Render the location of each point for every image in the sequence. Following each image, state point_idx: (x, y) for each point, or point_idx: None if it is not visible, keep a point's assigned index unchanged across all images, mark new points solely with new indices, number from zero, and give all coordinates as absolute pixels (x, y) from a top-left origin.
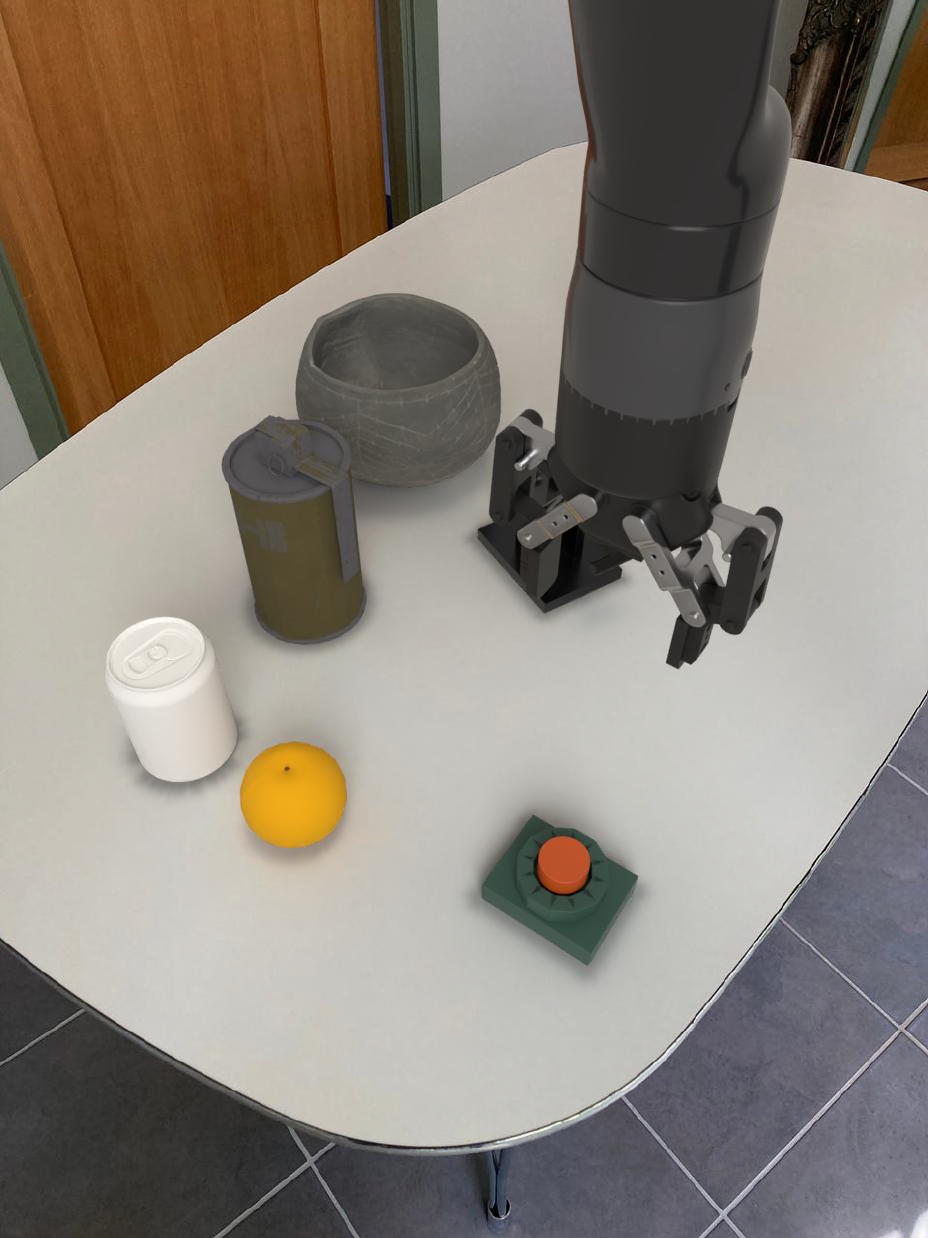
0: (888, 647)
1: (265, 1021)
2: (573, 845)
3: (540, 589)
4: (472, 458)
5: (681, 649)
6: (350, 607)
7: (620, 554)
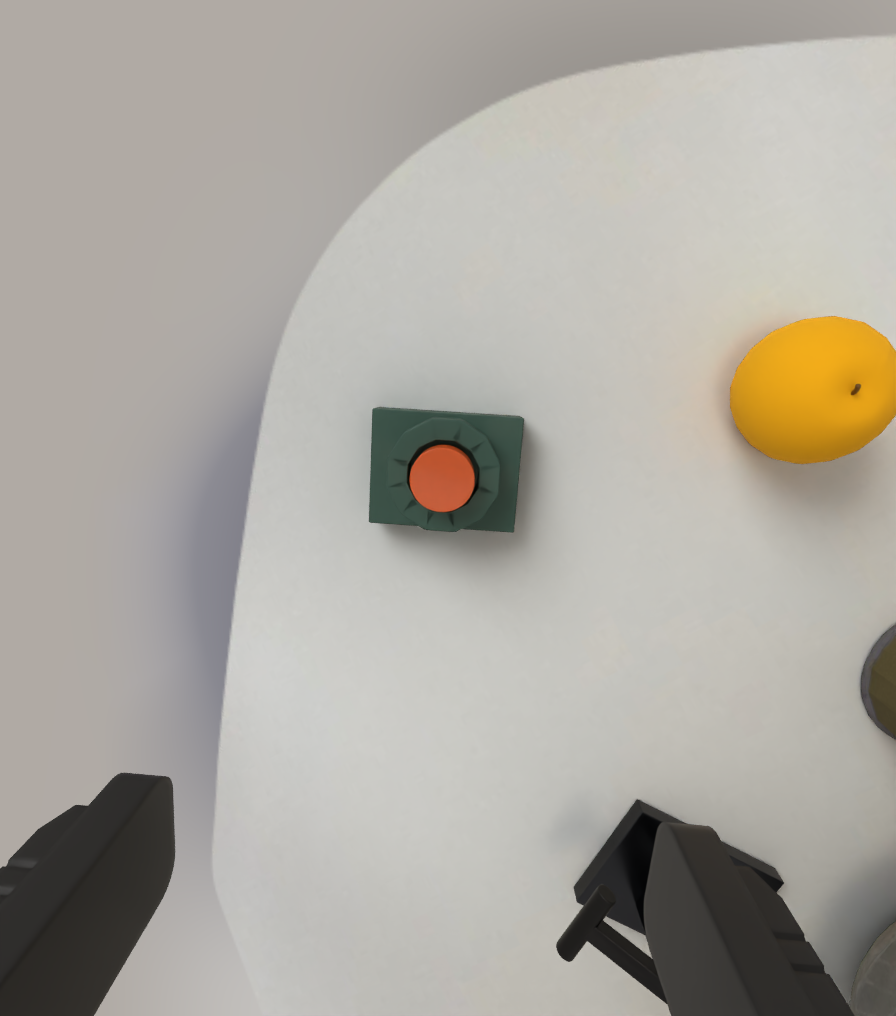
0: (260, 924)
1: (671, 145)
2: (440, 503)
3: (673, 864)
4: (863, 998)
5: (53, 852)
6: (890, 690)
7: (582, 934)
